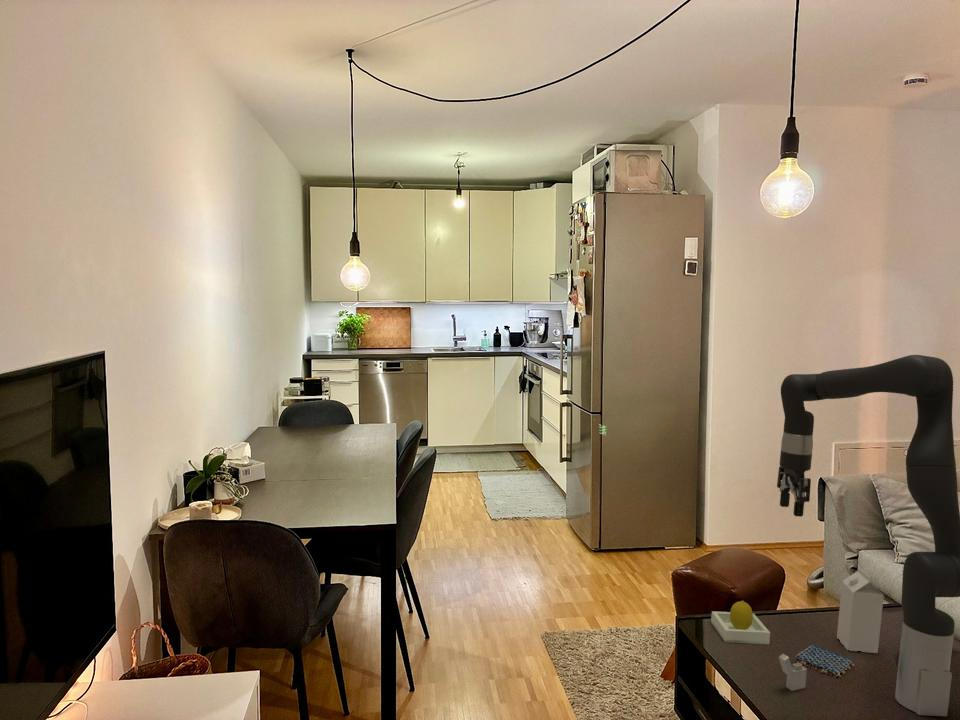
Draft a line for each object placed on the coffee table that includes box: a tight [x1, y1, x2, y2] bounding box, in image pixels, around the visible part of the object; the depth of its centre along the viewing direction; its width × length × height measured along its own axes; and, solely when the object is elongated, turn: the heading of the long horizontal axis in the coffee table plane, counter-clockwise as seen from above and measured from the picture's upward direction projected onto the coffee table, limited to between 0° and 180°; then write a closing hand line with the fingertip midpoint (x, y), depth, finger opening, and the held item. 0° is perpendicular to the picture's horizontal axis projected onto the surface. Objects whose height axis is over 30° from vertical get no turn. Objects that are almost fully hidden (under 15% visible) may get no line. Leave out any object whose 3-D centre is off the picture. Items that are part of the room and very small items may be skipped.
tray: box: [710, 610, 771, 645], centre depth 185 cm, size 11×11×3 cm
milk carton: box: [836, 566, 885, 654], centre depth 181 cm, size 7×7×19 cm
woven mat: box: [794, 644, 855, 678], centre depth 172 cm, size 10×11×2 cm
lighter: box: [778, 653, 808, 692], centre depth 159 cm, size 7×2×8 cm, turn 113°
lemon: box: [729, 600, 754, 630], centre depth 185 cm, size 6×6×8 cm
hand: (790, 511), depth 191 cm, fingers open, 8 cm apart
